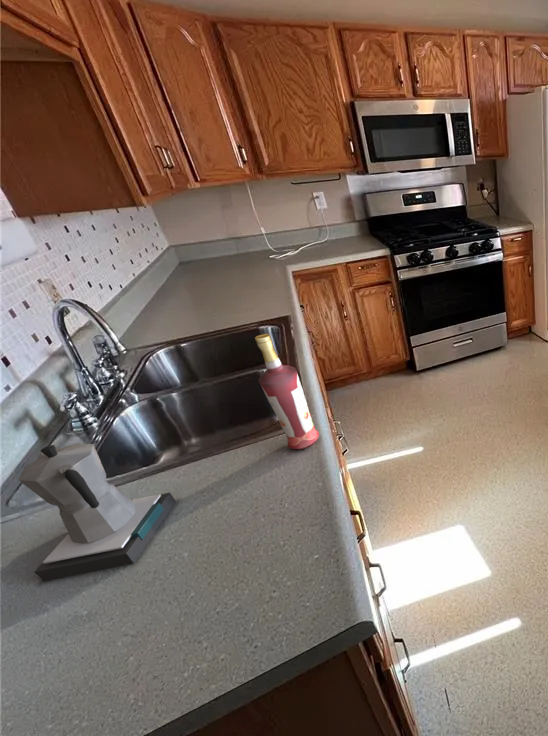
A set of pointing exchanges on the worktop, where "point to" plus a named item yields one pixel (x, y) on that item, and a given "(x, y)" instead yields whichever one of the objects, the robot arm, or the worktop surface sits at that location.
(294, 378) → the liquor
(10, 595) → the worktop surface
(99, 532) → the coffeepot
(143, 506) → the scale
